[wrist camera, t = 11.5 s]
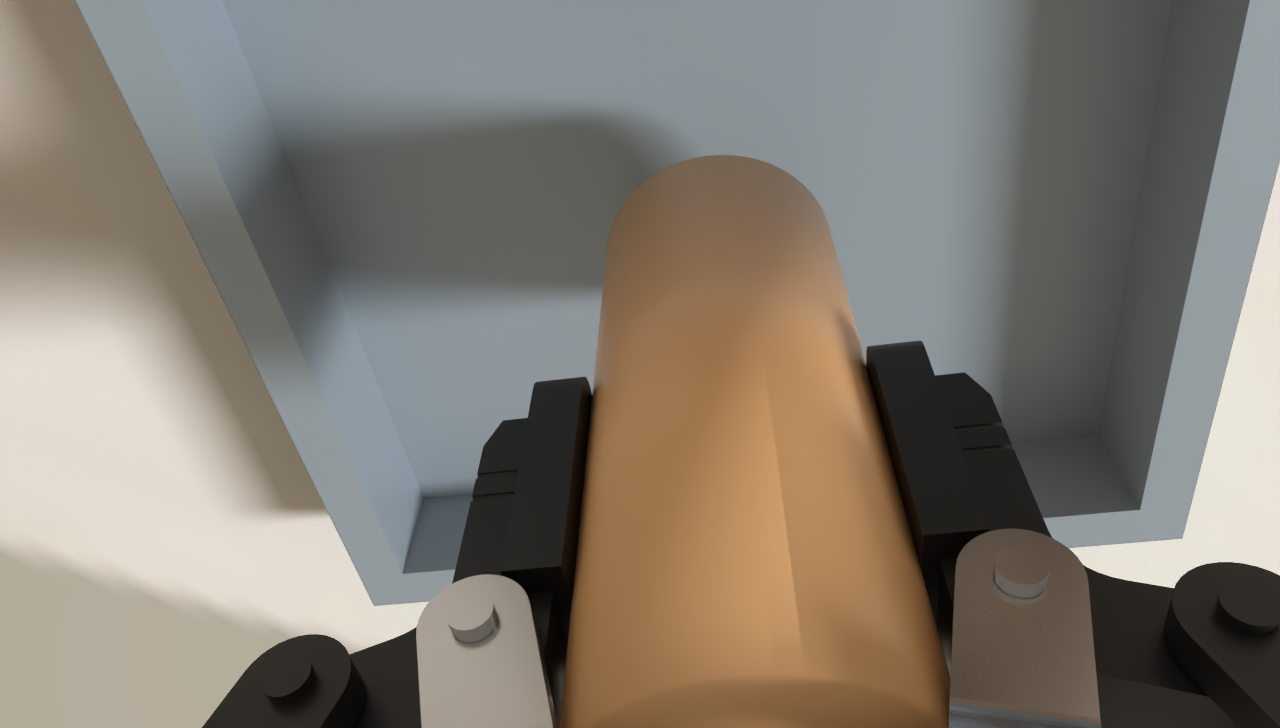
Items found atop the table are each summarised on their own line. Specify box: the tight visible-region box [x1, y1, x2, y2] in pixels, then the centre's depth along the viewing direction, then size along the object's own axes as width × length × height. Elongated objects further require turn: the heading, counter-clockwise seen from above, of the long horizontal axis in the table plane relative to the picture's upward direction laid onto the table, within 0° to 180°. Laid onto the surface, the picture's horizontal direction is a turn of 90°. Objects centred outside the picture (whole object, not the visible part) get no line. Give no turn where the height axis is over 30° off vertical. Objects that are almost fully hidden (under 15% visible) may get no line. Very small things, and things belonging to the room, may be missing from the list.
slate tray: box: [75, 0, 1280, 606], centre depth 18 cm, size 18×16×3 cm
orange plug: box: [559, 155, 950, 728], centre depth 13 cm, size 4×4×10 cm
